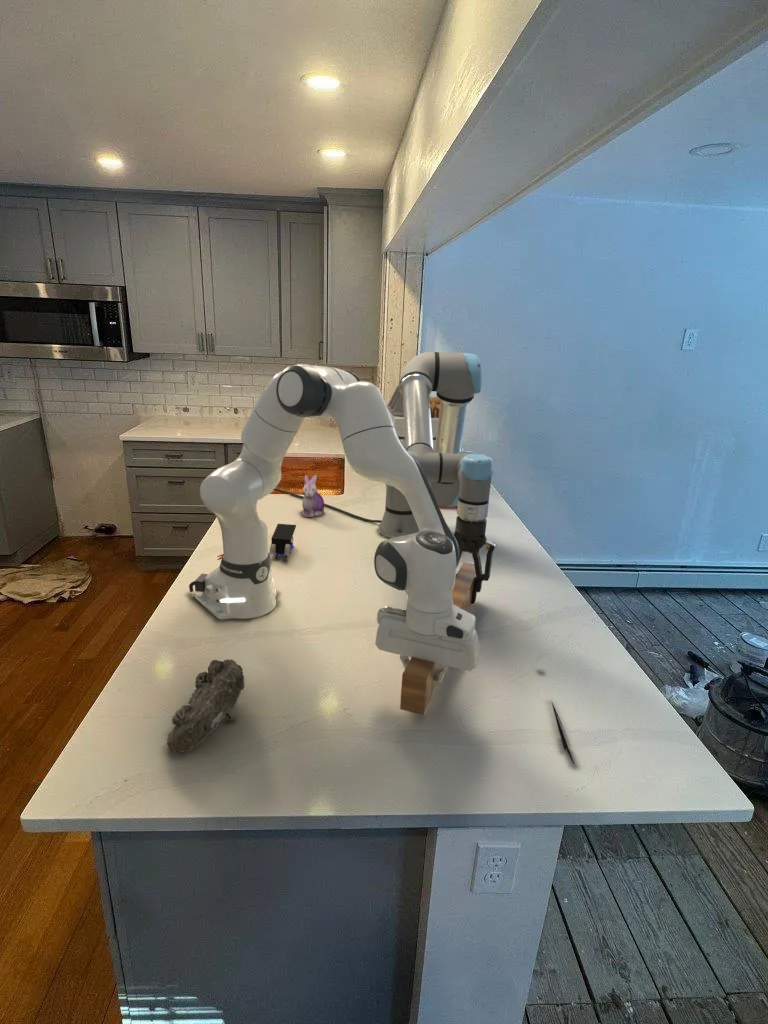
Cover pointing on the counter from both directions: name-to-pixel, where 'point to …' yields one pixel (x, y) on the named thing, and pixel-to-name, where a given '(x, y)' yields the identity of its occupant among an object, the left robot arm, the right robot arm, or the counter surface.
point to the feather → (562, 734)
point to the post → (422, 672)
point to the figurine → (312, 498)
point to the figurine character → (282, 540)
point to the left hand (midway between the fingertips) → (423, 676)
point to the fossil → (206, 705)
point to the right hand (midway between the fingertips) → (463, 599)
